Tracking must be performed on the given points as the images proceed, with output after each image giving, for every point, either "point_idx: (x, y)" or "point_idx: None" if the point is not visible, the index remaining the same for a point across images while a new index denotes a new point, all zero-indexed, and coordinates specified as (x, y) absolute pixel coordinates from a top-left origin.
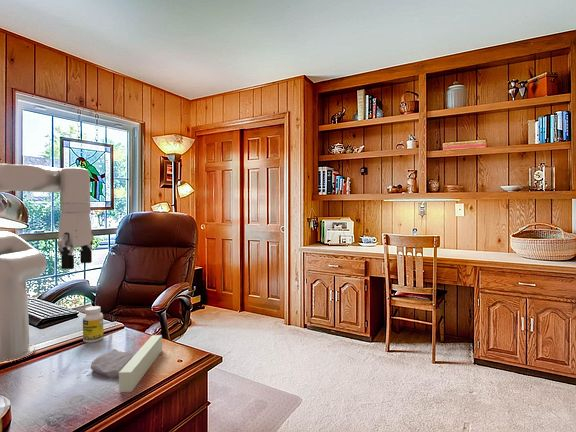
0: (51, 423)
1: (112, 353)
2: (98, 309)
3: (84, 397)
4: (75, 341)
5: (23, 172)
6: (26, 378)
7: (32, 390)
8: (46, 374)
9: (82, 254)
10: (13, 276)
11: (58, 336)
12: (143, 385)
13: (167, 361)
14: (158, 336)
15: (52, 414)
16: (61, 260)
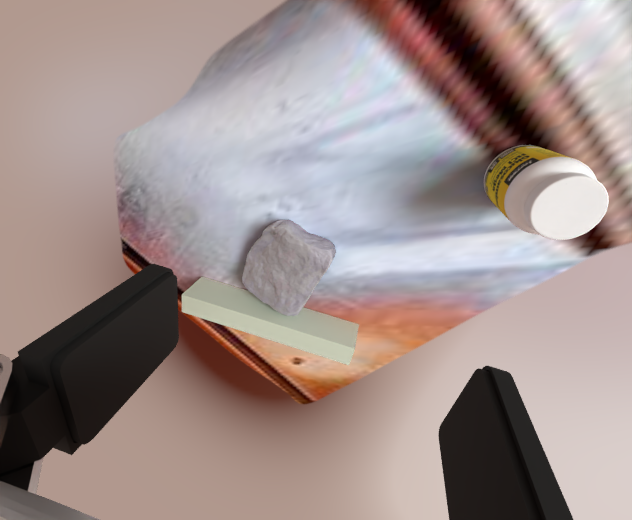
0: (124, 197)
1: (305, 265)
2: (539, 233)
3: (189, 227)
4: (528, 117)
5: None
6: (277, 71)
7: (219, 117)
8: (289, 117)
9: (495, 479)
10: None
11: None
12: None
13: None
14: (342, 359)
15: (144, 190)
16: (85, 307)
